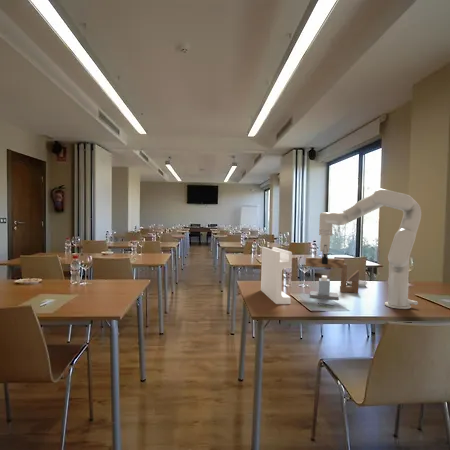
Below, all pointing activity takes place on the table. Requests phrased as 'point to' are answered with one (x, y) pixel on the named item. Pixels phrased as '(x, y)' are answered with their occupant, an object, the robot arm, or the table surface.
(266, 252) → the block
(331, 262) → the walnut beam
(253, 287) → the table surface
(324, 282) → the stand
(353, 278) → the wooden angled stand
